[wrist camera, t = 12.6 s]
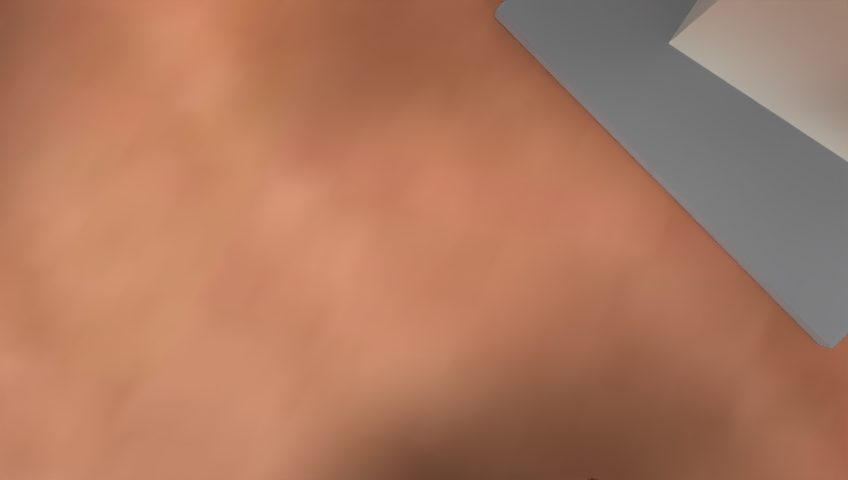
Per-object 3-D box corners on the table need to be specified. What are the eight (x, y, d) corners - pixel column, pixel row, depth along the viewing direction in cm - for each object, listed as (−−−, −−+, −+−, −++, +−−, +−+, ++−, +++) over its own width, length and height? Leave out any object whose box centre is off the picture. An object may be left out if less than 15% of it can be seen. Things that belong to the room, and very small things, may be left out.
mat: (1160, 17, 17) (1186, 10, 17) (818, 344, 18) (832, 348, 17) (826, -311, 18) (839, -330, 17) (494, 16, 18) (495, 9, 17)
